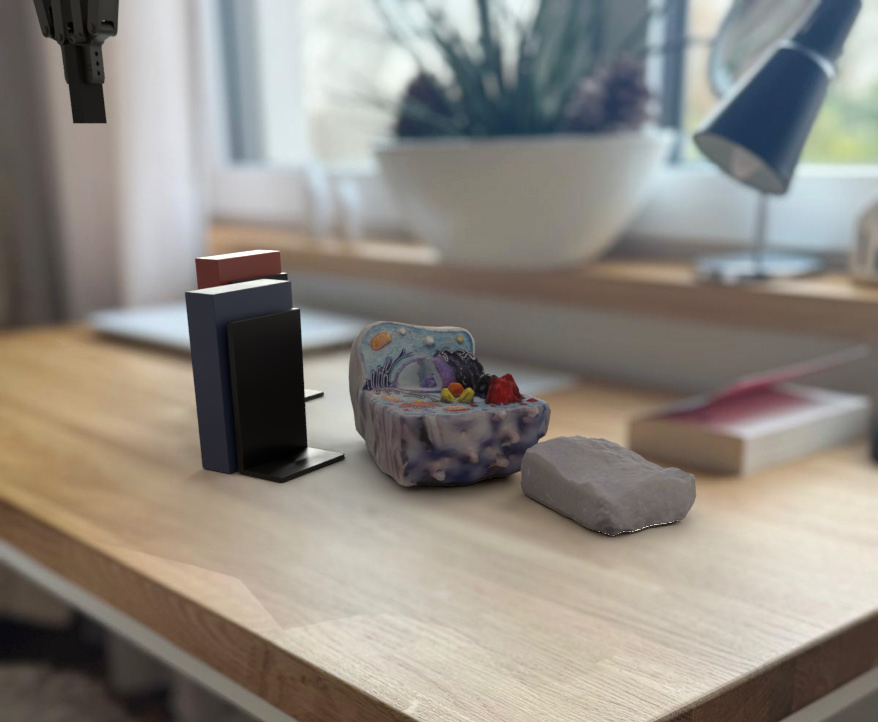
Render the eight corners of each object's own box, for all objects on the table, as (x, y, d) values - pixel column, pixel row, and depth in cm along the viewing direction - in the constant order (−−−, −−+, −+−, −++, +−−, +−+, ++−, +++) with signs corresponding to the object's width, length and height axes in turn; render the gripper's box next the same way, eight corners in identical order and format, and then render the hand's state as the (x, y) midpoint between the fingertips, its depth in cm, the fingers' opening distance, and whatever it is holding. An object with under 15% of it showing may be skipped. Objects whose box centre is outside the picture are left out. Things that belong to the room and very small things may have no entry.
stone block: (610, 495, 86) (505, 489, 81) (625, 437, 85) (518, 427, 80) (707, 548, 77) (594, 544, 72) (726, 483, 75) (612, 475, 70)
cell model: (449, 305, 96) (572, 348, 79) (448, 423, 100) (564, 488, 84) (311, 315, 90) (412, 364, 74) (315, 440, 95) (412, 512, 78)
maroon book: (194, 258, 104) (217, 259, 102) (258, 249, 111) (280, 250, 109) (208, 402, 109) (230, 405, 108) (268, 385, 116) (289, 388, 114)
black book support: (238, 473, 87) (225, 321, 82) (302, 450, 93) (294, 307, 88) (281, 483, 84) (271, 327, 79) (345, 458, 90) (339, 312, 86)
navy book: (184, 291, 82) (212, 294, 81) (263, 278, 89) (291, 280, 88) (202, 468, 88) (229, 473, 86) (275, 443, 95) (302, 447, 93)
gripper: (141, -179, 92) (169, 123, 101) (41, -160, 98) (75, 123, 107) (70, -200, 86) (106, 123, 95) (-32, -177, 92) (11, 123, 102)
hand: (90, 123), depth 101 cm, fingers closed
